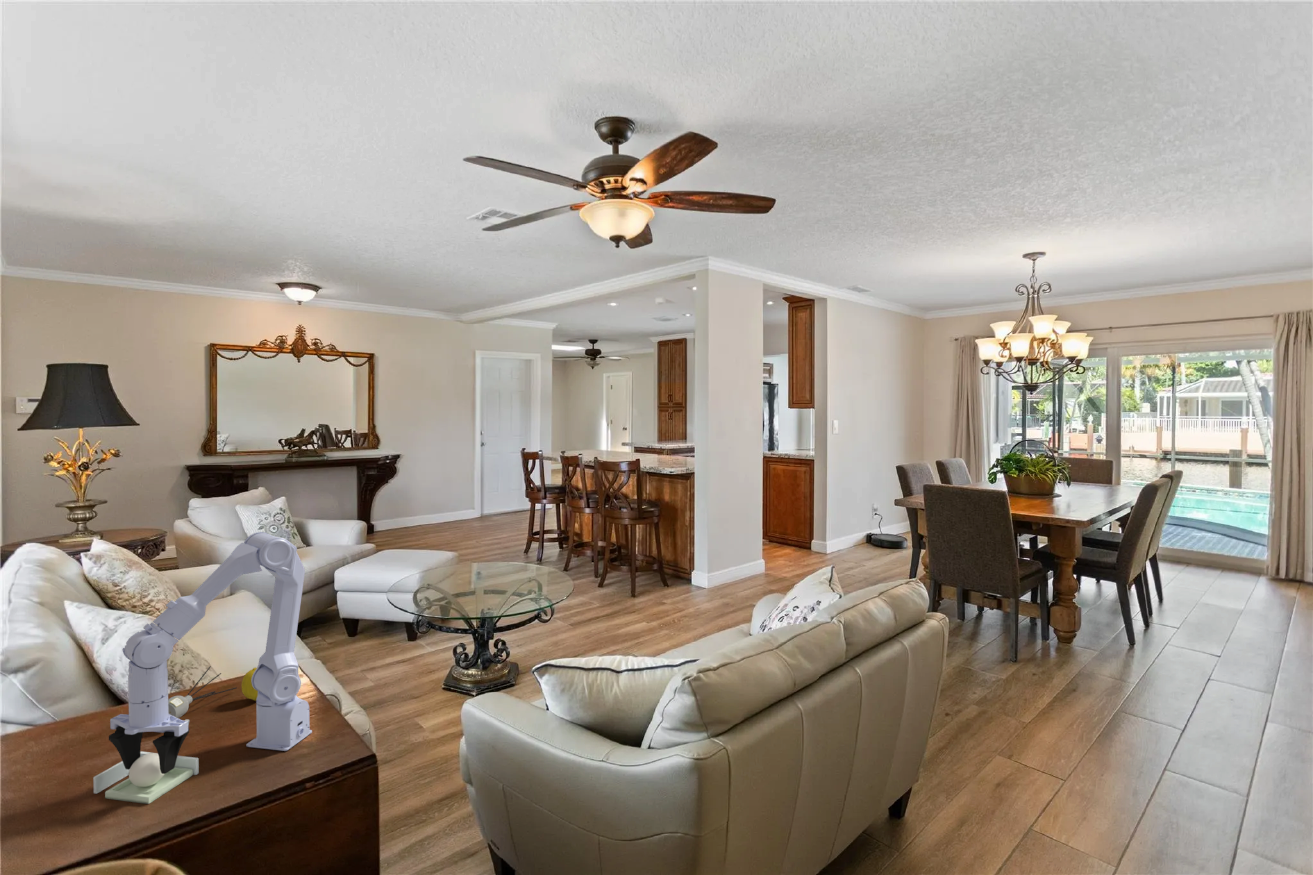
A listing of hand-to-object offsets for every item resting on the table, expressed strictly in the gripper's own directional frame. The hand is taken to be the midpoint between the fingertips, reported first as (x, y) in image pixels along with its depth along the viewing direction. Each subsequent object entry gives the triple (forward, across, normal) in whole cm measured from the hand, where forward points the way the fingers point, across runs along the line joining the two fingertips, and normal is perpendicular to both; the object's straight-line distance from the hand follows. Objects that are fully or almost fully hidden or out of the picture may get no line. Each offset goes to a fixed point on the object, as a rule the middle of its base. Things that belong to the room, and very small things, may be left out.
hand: (150, 768), depth 118 cm
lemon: (+4, -8, +34) cm, 35 cm away
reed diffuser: (+1, -16, +17) cm, 23 cm away
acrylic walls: (+3, -1, +1) cm, 4 cm away
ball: (+3, 0, 0) cm, 3 cm away
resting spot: (+3, 0, 0) cm, 3 cm away
